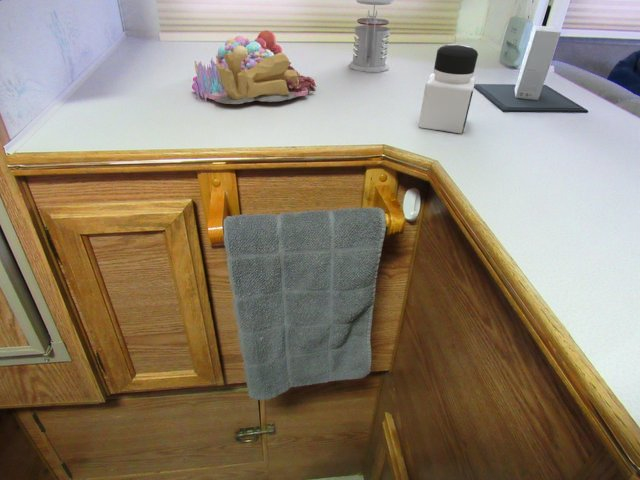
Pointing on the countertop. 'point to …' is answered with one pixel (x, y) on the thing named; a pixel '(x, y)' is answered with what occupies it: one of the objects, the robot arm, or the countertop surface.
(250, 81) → the candy landscape model
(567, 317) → the countertop surface
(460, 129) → the medicine bottle
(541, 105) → the slate mat
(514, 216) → the countertop surface
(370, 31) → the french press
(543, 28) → the cosmetic box
